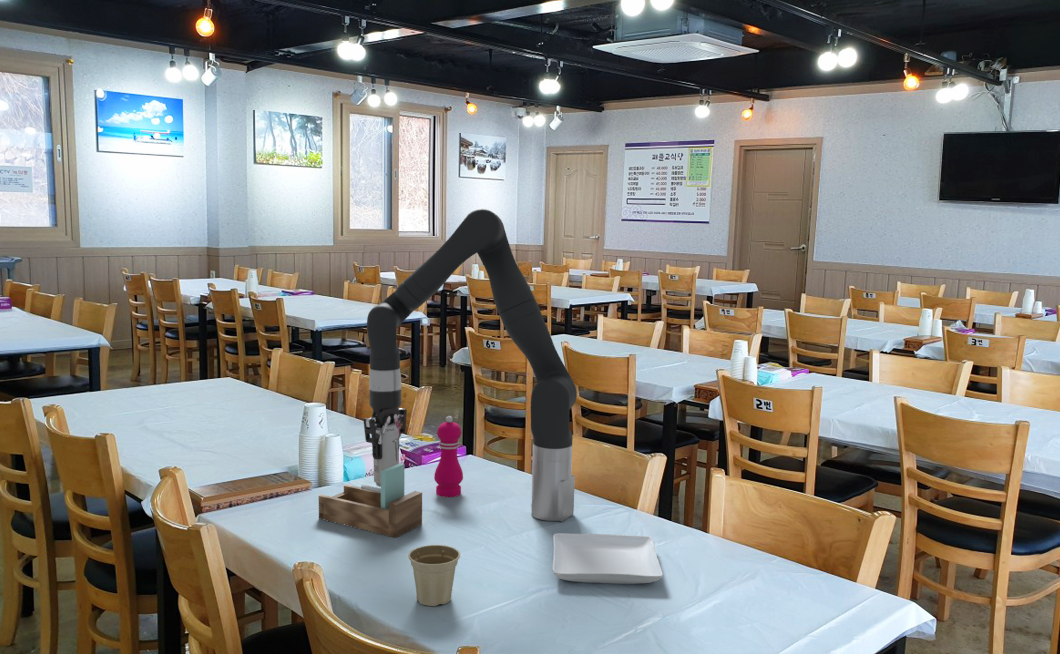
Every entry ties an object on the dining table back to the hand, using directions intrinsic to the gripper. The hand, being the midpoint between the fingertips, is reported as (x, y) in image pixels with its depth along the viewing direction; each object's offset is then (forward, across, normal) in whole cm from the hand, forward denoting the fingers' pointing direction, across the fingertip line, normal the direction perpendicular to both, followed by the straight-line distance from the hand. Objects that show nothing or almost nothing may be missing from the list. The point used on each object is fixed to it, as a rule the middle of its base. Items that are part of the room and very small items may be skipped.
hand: (386, 455), depth 206 cm
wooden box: (+12, -12, -4) cm, 18 cm away
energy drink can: (+7, 0, 0) cm, 7 cm away
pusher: (+10, -12, -7) cm, 17 cm away
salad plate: (+13, -7, -60) cm, 62 cm away
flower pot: (+13, -37, -39) cm, 56 cm away
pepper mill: (+12, +14, -9) cm, 21 cm away
